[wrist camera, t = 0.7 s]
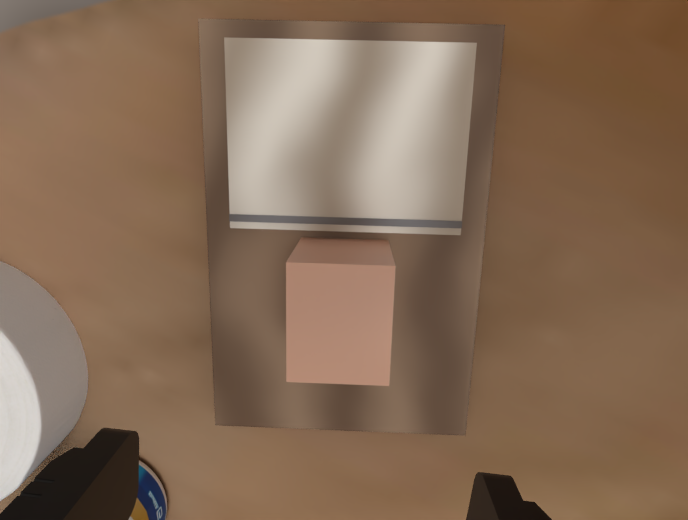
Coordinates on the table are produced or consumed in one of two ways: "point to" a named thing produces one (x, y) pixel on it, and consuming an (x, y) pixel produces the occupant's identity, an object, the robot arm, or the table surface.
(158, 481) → the blue supplement bottle
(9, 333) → the roll of tape
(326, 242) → the stub
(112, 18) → the table surface
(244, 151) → the board
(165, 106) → the table surface
